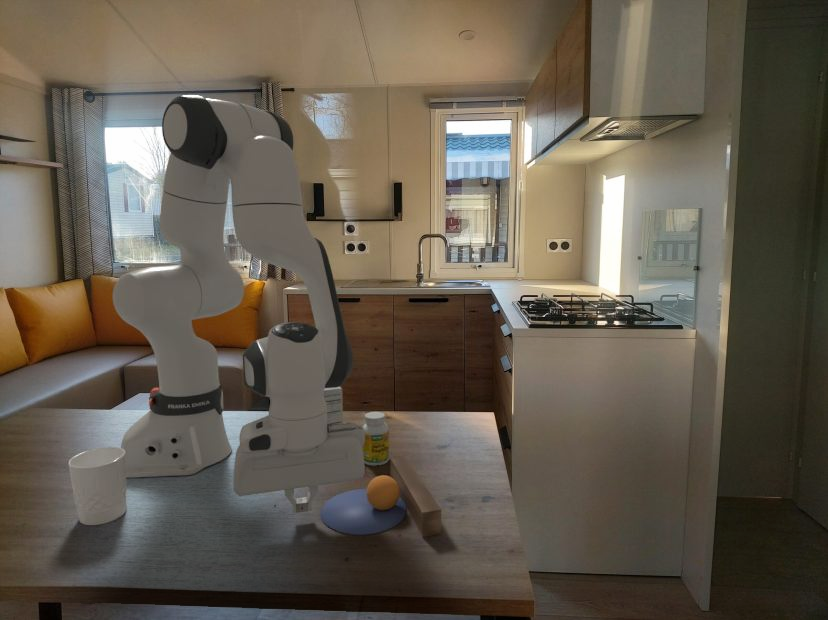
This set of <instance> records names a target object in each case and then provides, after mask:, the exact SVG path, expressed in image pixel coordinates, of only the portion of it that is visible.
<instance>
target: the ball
mask: <svg viewBox="0 0 828 620" xmlns="http://www.w3.org/2000/svg"><path fill="white" fill-rule="evenodd" d="M366 489H367V499H368V501H369V503H370V504H371V506H372V507H374V508H376V509H378V510H388V509H390V508H392V507H393V506H394V505H395V504H396V503H397V501H398V499H399V498H400V490H399V486H398V484H397V482H396V481H395V480H394V479H393V478H391V477H390V475H386V474H385V475H384V474H382V475H379V476H375V477H374V478H373V479H371V480H370V482H369V483H368V485H367V487H366Z"/></svg>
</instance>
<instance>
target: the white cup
mask: <svg viewBox="0 0 828 620" xmlns="http://www.w3.org/2000/svg"><path fill="white" fill-rule="evenodd" d="M67 463H68V469H69V475H70V476H69V477H70V480H71V481H70V482H71V487H72V493H73V498H74V503H75V506H76V510H77V515H78V520H79V523H80V524H82V525H85V526H98V525H105V524H107V523H111V522H113V521H115V520H117V519H119V518H120V517H122V516H123V515H124V514H125V513H126V511H127V510H128V509H127V490H128V489H127V478H126V457H125V450H124V449H122V448H121V447H117V446H105V447H97V448H93V449H89V450H86V451H83V452H80V453H78V454H76V455H74V456H72V457H71V458H70V459H69V460H68V462H67Z"/></svg>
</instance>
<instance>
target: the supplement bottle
mask: <svg viewBox="0 0 828 620" xmlns="http://www.w3.org/2000/svg"><path fill="white" fill-rule="evenodd" d="M364 422H365V423H364V424H363V426H362V427H363V429H364V431H365V443H364V445H363V446H362V447H361V448H362V452H363V457H364V465H368V466H371V467H377V465H379V466H383V465H385V464H387V463H388V461H390V432H389V431H390V429H389V425H388V424H387V423H386V414H385V413H384V412H381V411H370V412H367V413H365V415H364Z"/></svg>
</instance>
